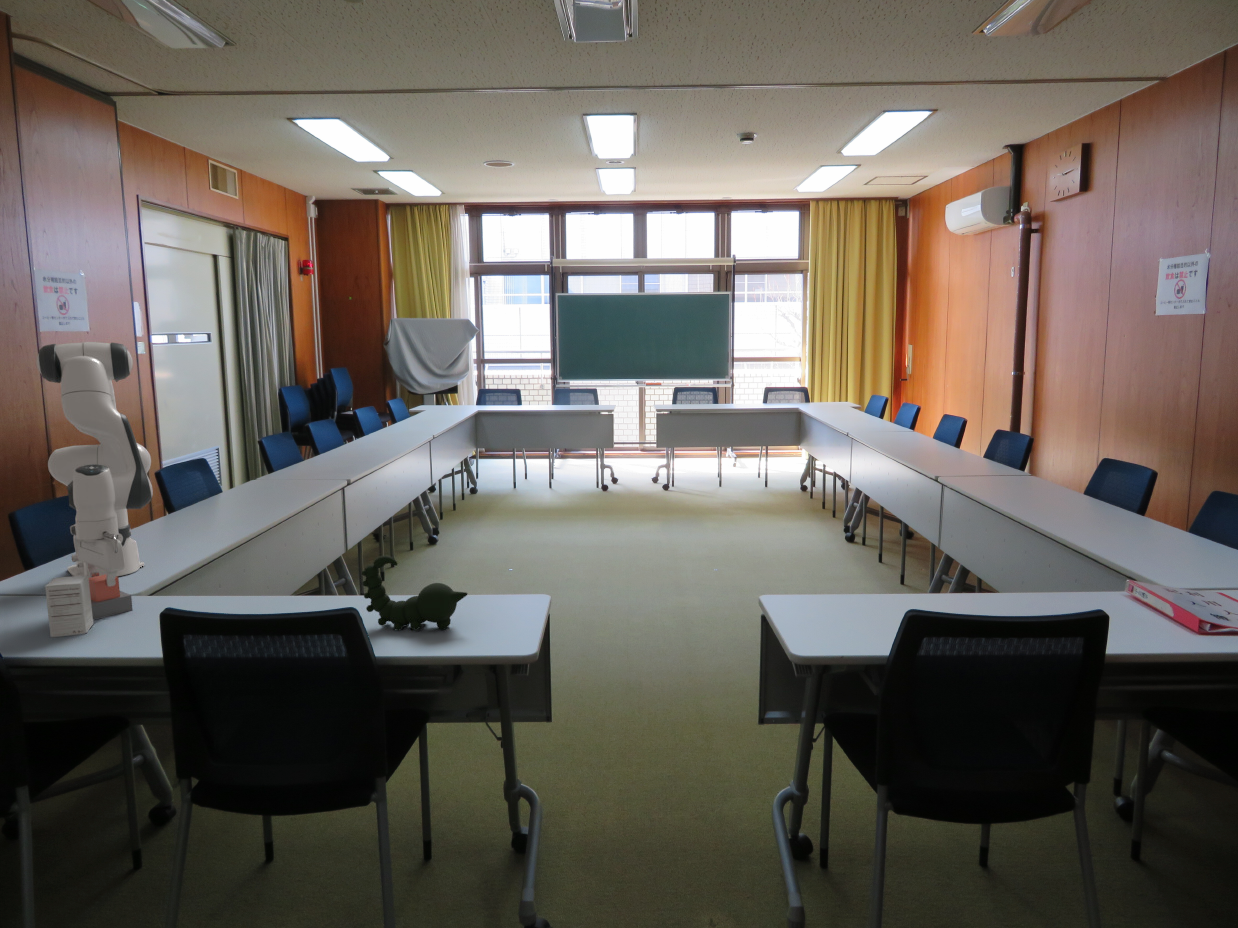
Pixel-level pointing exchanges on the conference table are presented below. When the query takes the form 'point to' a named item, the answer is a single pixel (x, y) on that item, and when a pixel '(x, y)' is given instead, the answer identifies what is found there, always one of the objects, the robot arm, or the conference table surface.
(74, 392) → the robot arm
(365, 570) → the toy figurine
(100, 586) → the red cube
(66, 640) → the conference table surface
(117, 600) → the block
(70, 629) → the supplement box
